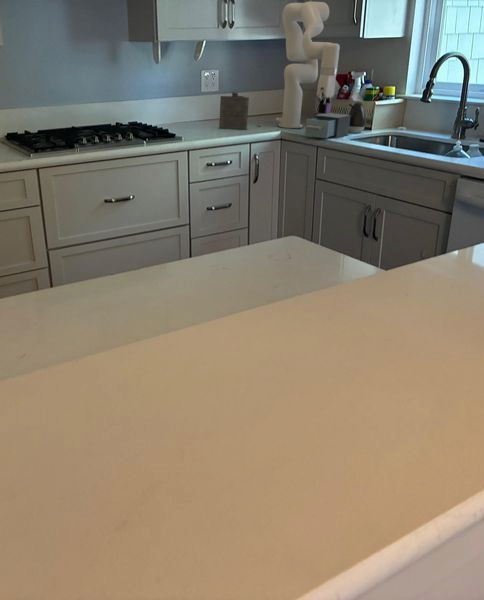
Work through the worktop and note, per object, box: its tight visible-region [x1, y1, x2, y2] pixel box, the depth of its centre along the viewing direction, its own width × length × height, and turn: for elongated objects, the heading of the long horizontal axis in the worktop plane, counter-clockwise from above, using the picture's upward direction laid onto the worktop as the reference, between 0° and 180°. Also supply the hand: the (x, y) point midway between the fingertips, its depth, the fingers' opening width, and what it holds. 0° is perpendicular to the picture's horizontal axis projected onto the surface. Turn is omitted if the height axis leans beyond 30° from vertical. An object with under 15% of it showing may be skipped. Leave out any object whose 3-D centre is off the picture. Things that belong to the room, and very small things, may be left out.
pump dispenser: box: [347, 101, 367, 134], centre depth 314 cm, size 10×10×15 cm
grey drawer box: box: [313, 112, 351, 139], centre depth 304 cm, size 15×13×10 cm
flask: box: [218, 91, 250, 131], centre depth 313 cm, size 4×14×18 cm, turn 81°
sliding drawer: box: [304, 117, 337, 139], centre depth 294 cm, size 18×11×8 cm, turn 144°
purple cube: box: [317, 102, 332, 114], centre depth 293 cm, size 4×4×4 cm
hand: (324, 112), depth 293 cm, fingers closed on purple cube, 4 cm apart
